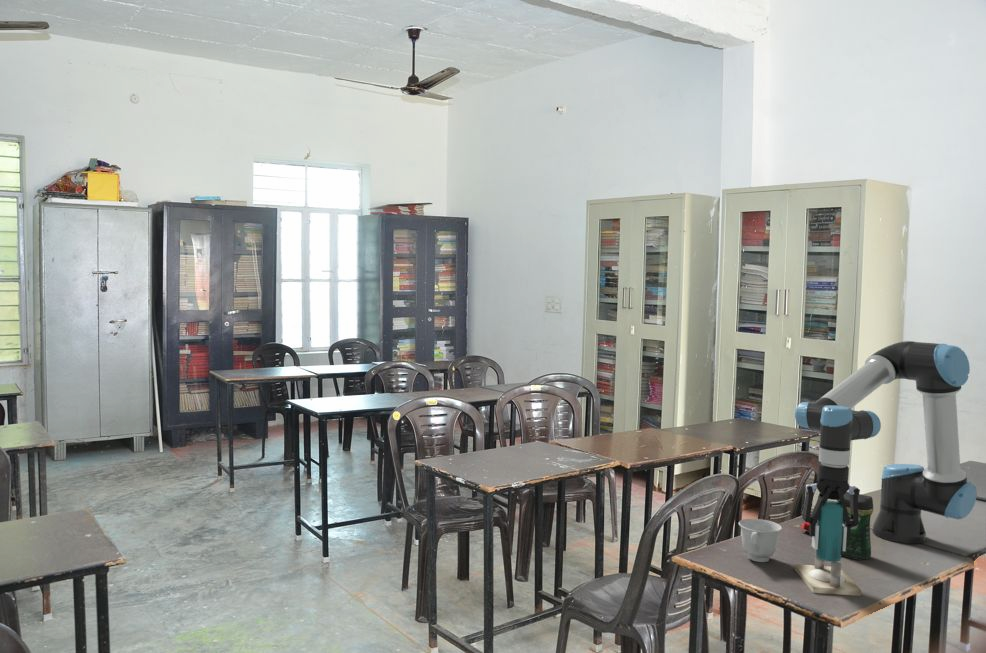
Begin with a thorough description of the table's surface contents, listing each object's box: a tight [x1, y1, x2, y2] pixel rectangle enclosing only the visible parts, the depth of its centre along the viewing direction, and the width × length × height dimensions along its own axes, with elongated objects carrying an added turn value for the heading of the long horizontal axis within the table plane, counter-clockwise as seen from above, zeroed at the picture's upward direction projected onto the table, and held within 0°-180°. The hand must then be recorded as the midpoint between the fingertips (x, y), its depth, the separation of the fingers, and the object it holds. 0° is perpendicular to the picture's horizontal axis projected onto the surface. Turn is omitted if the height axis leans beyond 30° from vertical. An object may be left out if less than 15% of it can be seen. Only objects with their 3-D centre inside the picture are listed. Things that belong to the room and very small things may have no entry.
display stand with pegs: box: [794, 549, 862, 597], centre depth 208 cm, size 12×16×8 cm
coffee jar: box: [841, 491, 875, 560], centre depth 229 cm, size 10×8×19 cm
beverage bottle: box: [814, 491, 844, 563], centre depth 207 cm, size 6×7×20 cm
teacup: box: [738, 518, 783, 563], centre depth 223 cm, size 12×15×10 cm
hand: (828, 548), depth 208 cm, fingers closed on beverage bottle, 6 cm apart
